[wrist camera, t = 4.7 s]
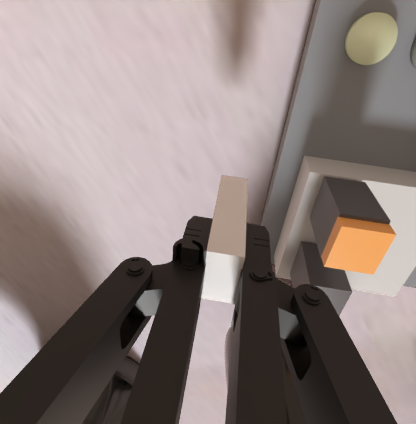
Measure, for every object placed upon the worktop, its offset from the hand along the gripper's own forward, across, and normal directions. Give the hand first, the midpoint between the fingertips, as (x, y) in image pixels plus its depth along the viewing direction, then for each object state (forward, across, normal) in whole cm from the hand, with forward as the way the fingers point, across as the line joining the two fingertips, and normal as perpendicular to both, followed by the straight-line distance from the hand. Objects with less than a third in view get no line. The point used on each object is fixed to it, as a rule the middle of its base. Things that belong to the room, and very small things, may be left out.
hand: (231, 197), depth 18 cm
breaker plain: (+2, +6, -5) cm, 8 cm away
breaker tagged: (+2, +6, 0) cm, 7 cm away
